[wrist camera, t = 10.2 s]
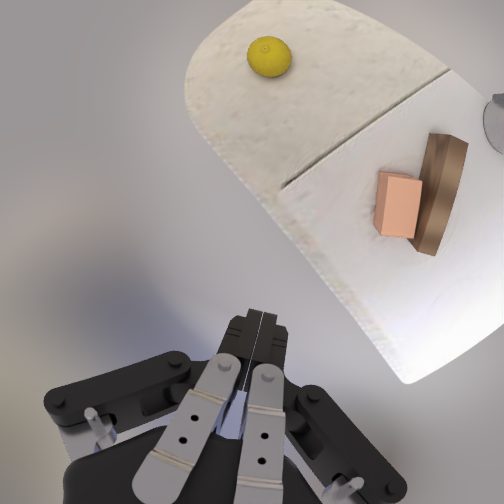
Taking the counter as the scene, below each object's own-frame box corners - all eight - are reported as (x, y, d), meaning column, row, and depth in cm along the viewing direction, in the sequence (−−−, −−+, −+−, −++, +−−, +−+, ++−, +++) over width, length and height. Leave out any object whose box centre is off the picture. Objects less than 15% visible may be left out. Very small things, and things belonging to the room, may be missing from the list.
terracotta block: (379, 171, 37) (388, 176, 32) (410, 175, 36) (422, 181, 31) (373, 223, 40) (380, 235, 35) (403, 226, 39) (413, 238, 35)
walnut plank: (429, 133, 33) (450, 134, 26) (445, 140, 32) (468, 143, 26) (402, 233, 39) (417, 251, 33) (418, 238, 39) (434, 256, 33)
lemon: (247, 55, 33) (234, 38, 26) (284, 42, 32) (278, 22, 24) (261, 87, 35) (251, 76, 28) (299, 74, 33) (297, 60, 26)
